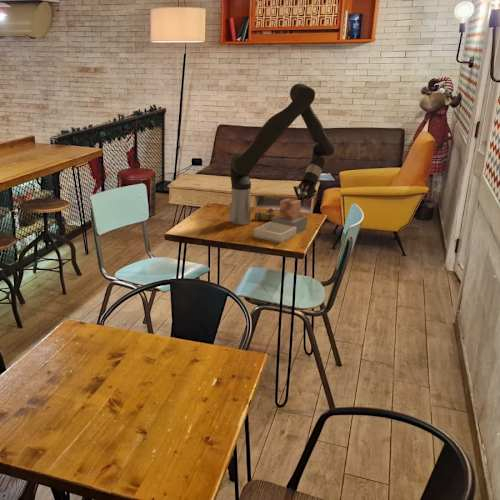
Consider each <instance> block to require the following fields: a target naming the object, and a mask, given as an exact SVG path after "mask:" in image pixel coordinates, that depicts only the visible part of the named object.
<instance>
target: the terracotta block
mask: <svg viewBox="0 0 500 500" xmlns="http://www.w3.org/2000/svg"><path fill="white" fill-rule="evenodd" d="M301 206H302V205H301V200H298V199H294V198H289V197H287V198H284V199H282V200H280V203H279V215H280V218H284V219H289V220H294V219H296V218H299V217H300V215H301V208H302V207H301Z"/></svg>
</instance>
